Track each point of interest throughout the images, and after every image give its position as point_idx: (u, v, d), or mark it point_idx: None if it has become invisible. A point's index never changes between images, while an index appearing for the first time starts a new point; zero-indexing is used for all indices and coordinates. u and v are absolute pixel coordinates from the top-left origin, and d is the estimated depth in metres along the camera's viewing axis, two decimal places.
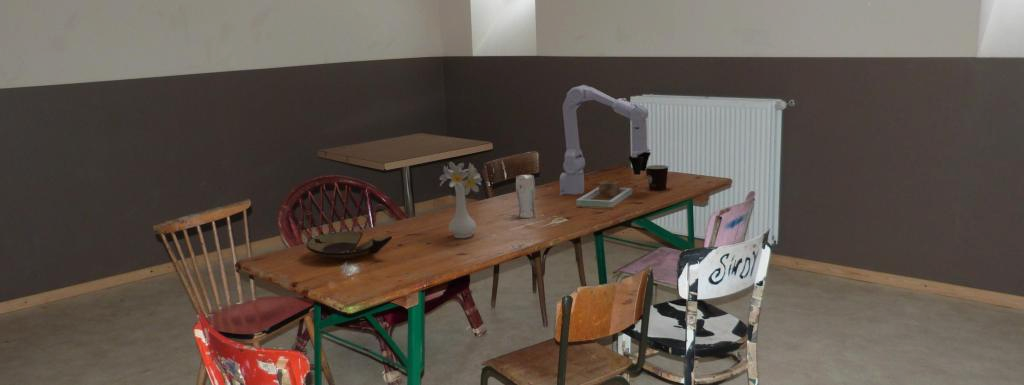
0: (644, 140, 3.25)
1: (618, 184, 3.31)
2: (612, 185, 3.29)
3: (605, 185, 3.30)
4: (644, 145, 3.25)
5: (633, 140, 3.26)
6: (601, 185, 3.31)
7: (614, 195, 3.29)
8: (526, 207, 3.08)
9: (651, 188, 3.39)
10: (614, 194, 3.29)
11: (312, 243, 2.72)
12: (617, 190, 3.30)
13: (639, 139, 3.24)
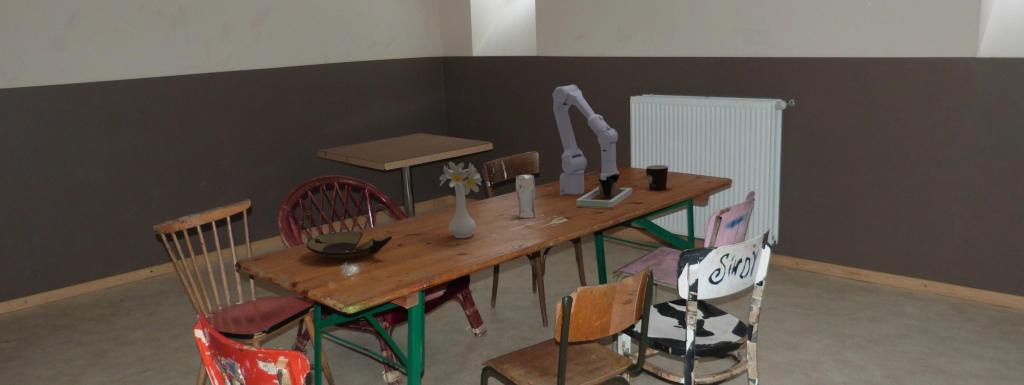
0: (613, 163, 3.28)
1: (618, 184, 3.31)
2: (612, 185, 3.29)
3: None
4: (613, 167, 3.28)
5: (602, 162, 3.29)
6: None
7: (614, 195, 3.29)
8: (526, 207, 3.08)
9: (651, 188, 3.39)
10: (614, 194, 3.29)
11: (312, 243, 2.72)
12: (617, 190, 3.30)
13: (608, 162, 3.27)
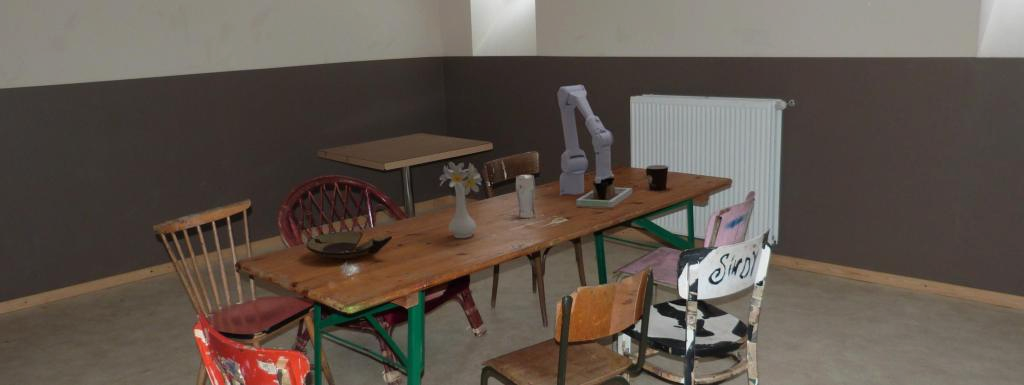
0: (608, 165, 3.22)
1: (613, 187, 3.26)
2: (607, 188, 3.23)
3: None
4: (608, 170, 3.23)
5: (597, 165, 3.23)
6: (595, 188, 3.25)
7: (609, 198, 3.24)
8: (526, 207, 3.08)
9: (651, 188, 3.39)
10: (609, 197, 3.24)
11: (312, 243, 2.72)
12: (612, 193, 3.25)
13: (603, 164, 3.22)
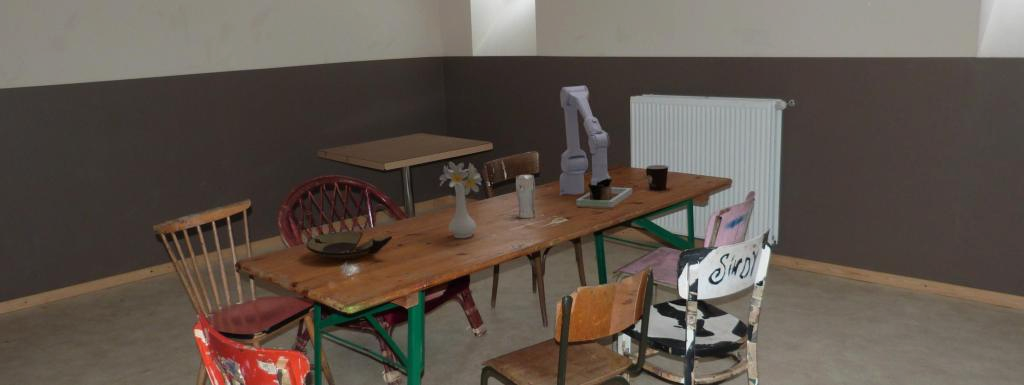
0: (604, 167, 3.19)
1: (609, 189, 3.22)
2: (603, 191, 3.20)
3: None
4: (604, 172, 3.19)
5: (593, 167, 3.20)
6: None
7: None
8: (526, 207, 3.08)
9: (651, 188, 3.39)
10: None
11: (312, 243, 2.72)
12: (608, 196, 3.21)
13: (599, 166, 3.18)
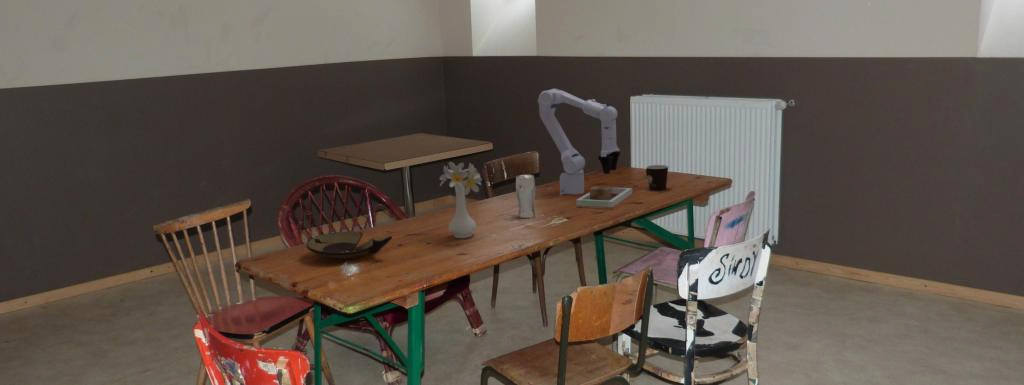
0: (613, 140, 3.30)
1: (609, 189, 3.22)
2: (603, 191, 3.20)
3: (596, 191, 3.21)
4: (613, 145, 3.31)
5: (603, 140, 3.31)
6: (592, 191, 3.22)
7: None
8: (526, 207, 3.08)
9: (651, 188, 3.39)
10: None
11: (312, 243, 2.72)
12: (608, 196, 3.21)
13: (608, 139, 3.30)
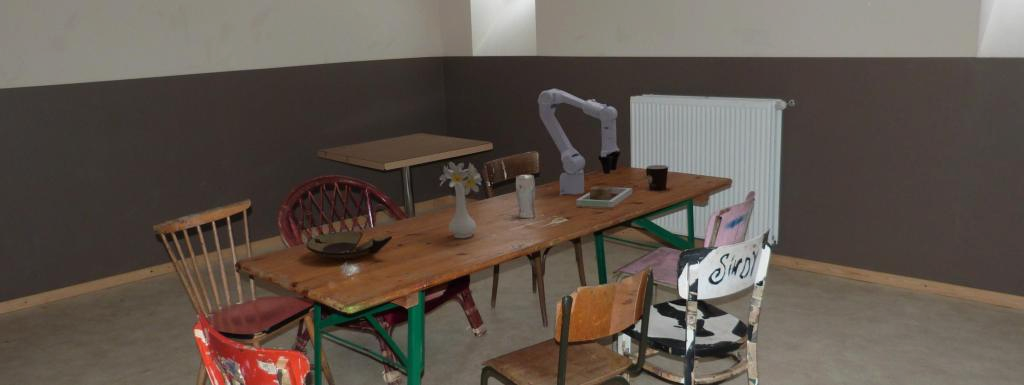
0: (613, 140, 3.30)
1: (609, 189, 3.22)
2: (603, 191, 3.20)
3: (596, 191, 3.21)
4: (613, 145, 3.31)
5: (603, 140, 3.31)
6: (592, 191, 3.22)
7: None
8: (526, 207, 3.08)
9: (651, 188, 3.39)
10: None
11: (312, 243, 2.72)
12: (608, 196, 3.21)
13: (608, 139, 3.30)
